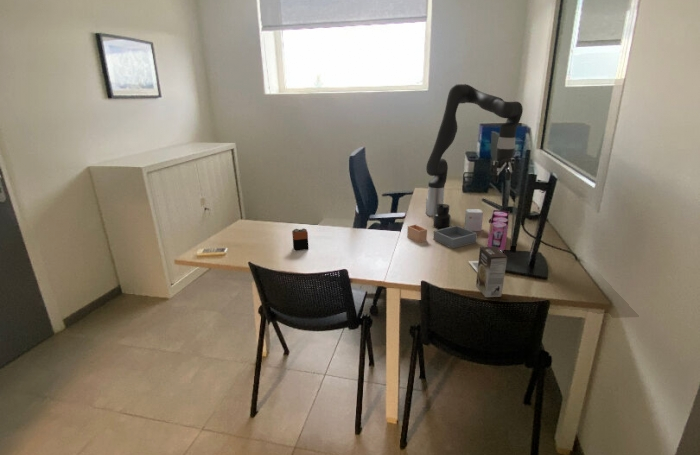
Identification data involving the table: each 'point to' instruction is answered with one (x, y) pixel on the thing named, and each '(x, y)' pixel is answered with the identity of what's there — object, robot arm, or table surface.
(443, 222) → the ink bottle
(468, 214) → the small box
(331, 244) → the table surface
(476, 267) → the touchpad
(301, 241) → the battery
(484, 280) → the coffee box
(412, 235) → the box
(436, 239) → the crate
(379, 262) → the table surface
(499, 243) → the gum box
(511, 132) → the robot arm
